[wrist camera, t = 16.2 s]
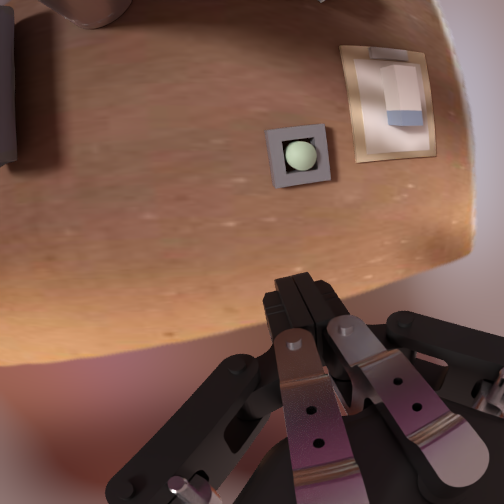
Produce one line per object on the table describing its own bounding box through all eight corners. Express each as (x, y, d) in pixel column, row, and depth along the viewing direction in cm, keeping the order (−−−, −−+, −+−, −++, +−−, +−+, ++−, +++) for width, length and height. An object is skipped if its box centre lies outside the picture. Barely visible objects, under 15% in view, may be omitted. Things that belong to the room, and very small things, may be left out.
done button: (281, 142, 35) (286, 143, 33) (308, 139, 35) (314, 140, 33) (285, 169, 36) (290, 172, 34) (311, 165, 36) (318, 168, 34)
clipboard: (338, 46, 31) (343, 43, 30) (421, 53, 31) (427, 52, 30) (355, 162, 37) (360, 163, 36) (433, 155, 38) (439, 156, 37)
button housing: (264, 130, 35) (267, 130, 33) (319, 123, 35) (324, 123, 33) (272, 185, 37) (275, 188, 35) (325, 177, 38) (330, 179, 36)
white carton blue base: (380, 68, 32) (393, 64, 28) (400, 69, 32) (415, 66, 29) (388, 125, 35) (402, 125, 32) (408, 124, 35) (423, 125, 32)
